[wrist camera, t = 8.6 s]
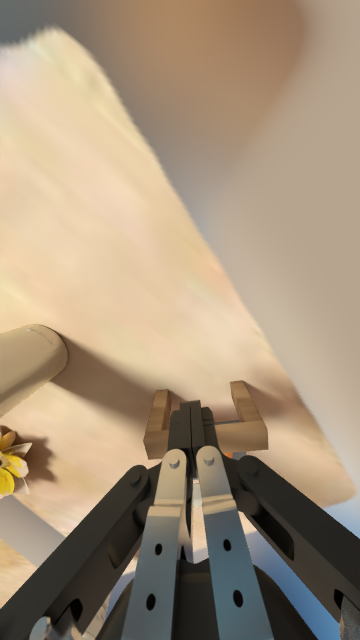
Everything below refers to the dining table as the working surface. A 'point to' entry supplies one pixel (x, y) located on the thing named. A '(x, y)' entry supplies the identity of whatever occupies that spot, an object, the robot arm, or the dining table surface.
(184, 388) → the dining table surface
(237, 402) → the bridge
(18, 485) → the decorative flower
